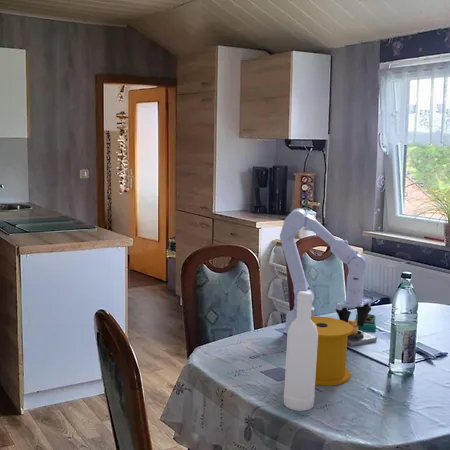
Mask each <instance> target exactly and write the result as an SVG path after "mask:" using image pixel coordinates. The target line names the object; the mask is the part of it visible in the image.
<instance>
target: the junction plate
mask: <svg viewBox="0 0 450 450" xmlns="http://www.w3.org/2000/svg"><path fill="white" fill-rule="evenodd" d="M377 337H378V336H375V335H372V334H369V333H367V332H366V331H363V330H358V335H351V334H350V335H348V337H347V347H350V346H352V347H357V346H362V345H366V344H367V345H368V344H372V343H376V342H378V341H377V339H378V338H377Z"/></svg>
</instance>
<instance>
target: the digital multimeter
mask: <svg viewBox="0 0 450 450" xmlns="http://www.w3.org/2000/svg"><path fill="white" fill-rule="evenodd" d="M355 320H357V313H356V314H355ZM358 330H361V331H363V332H377V324H376V315H374V314H370V313H368V315H367V317H366V319H365V322H364V325H363V327H361V326H358Z"/></svg>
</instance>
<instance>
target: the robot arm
mask: <svg viewBox="0 0 450 450" xmlns="http://www.w3.org/2000/svg"><path fill="white" fill-rule="evenodd" d="M303 227H304V228H303ZM281 228H282V229H281V231H280V234H279V239H280V243H281V247H282V250H283V253H284V257H285V260H286V264H287V267H288V271H289V275H290V278H291V282H292V285H293V293H294V300H293V304H294V306H293V309H292V310H289V311H287V313H286V315H285V328H284V329H285V330H283V333H285V334H286V335H287V333H288V329H289V327H290V324H291V322H292V321H293V320H295V319H297V301H298V300H297V297H298V293H299V292H300V291H307V292H311V293H312V298H313V300H312V307H311V316H315V307H314V306H313V302H314V301H315V297H316V296H315V293H314V291H313V290H312V289H311V287H310V285H309V282H308V281H307V277H306V274H305V270H304V267H303V263H302V260H301V257H300V254H299V253H300V252H299V250H298V247H297V242H296V238H295V237H296V235H297V234H298V233H299V231H300V230H301V229H302V228H303V230H304V231H309V232H313V233H314V234H316V235H317V236H318V237H319V238H320V239H321V240H323V241H324V242H325V243H326V244H328V245H329V246H330V247H329V248H330V252H331V253H332V254H333V255H334V256H336V257H337V259H338V260H340V261H341V262H342V263H343V264H345V265H347V268H348V274H347V276H346V277H347V278H346V287H345V288H346V290H345V291H346V292H345V300H343V301H341V302H337V303H336V304H335V312H336V314H337V316H338V319H339V320H342V321H345V322H347V323H348V320H350V316H351V314H352V311H350V310H348V309H353V308H356V314H357V325H358V326H361V327H363V325H364V322H365V319H366V317H367V315H368V314H370V312H371V310H372V306H371V305H372V300H371V299H369V298H364V289H365V287H364V286H365V276H364V275H365V270H366V267H367V266H366V259H365V257H364V256H363V254H362V253H359V250H357V249H356V250H355V249H354V248H353V247H352V246H350V244H349V241H348V240H347V239H343V238H336V236H334V235H333V234H332V233H331V232H330V231H329V230H328V229H327V228H326V227H325V226H324V225H322V223H320V221H318V220H317V219H316V218H315V217H314V216H313V215H312V214H310V213H307V211H306V210H305V209H303V208H301V207H299V208H294V209H293V210H291V212H290V213H289V214H288V215H287V216H286V218H285V219H284V220H283V225H282V227H281Z"/></svg>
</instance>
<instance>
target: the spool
mask: <svg viewBox="0 0 450 450" xmlns="http://www.w3.org/2000/svg"><path fill="white" fill-rule="evenodd" d="M311 320H312V322H313V323H314V324H315V325H316V327H317V331H318V344H317V360H316V376H315V386H324V387H327V386H328V387H329V386H338V385H343V384H345V383H346V382H348V381H349V380H350V379H351V372H350V370H349V369H347V367H346V366H347V365H346V364H347V351H348V350H347V348H348V345H347V337H348V335H350V334H352V333H353V326H352V325H351V324H349V323H347V322H345V321H342V320H340V319H339V318H334V317H327V316H319V315H317V316H315V315H314V316H311ZM293 321H294V320H293ZM293 321H292V322H293ZM292 322H291V323H292Z"/></svg>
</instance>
